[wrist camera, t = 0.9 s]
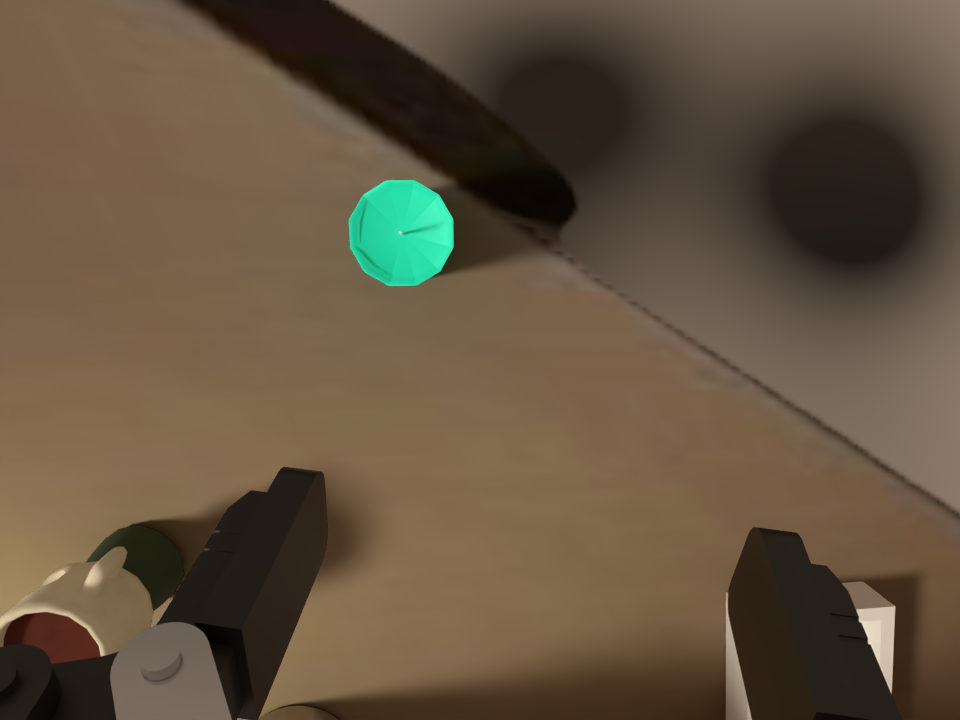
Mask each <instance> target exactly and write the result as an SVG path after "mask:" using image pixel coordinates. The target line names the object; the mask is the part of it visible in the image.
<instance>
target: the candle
mask: <svg viewBox="0 0 960 720" xmlns="http://www.w3.org/2000/svg"><path fill="white" fill-rule="evenodd" d="M349 232H350V248H351V250H352V252H353V253H354V255H355V257H356V259H357V260H358V262H359V264H360V265H361V267H362V269H363V271H364V272H365V273H367V274H369V275H370V276H372V277H374V278H376V279H378V280H379V281H381V282H383V283H385V284H387V285H388V286H417V285H418V284H420V283H422V282H423V281H425V280H427V279H428V278H430V277H432V276H433V275H435V274H437V273H439V272H440V271H441V269H442V267H443V266H444V264H445V262H446V260H447V258H448V257H449V255H450V253H451V251H452V249H453V248H454V233H453V218H452V216H451V214H450V212H449V211H448V209H447V207H446V206H445V204H444V202H443V200H442V199H441V197H440V195H439V194H437V193H435V192H434V191H432V190H430V189H429V188H427V187H425V186H424V185H422V184H420V183H418V182H417V181H415V180H386V181H384V182H383V183H381V184H380V185H378V186H377V187H375V188H373V189H372V190H370V191H369V192H367V193H366V194H364V195H363V196H362V198H361V199H360V201H359V203H358V205H357V206H356V208H355V210H354V212H353V213H352V215H351V217H350V218H349Z"/></svg>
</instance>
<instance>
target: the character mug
mask: <svg viewBox="0 0 960 720" xmlns="http://www.w3.org/2000/svg"><path fill="white" fill-rule="evenodd" d="M182 577H183V564H182V557H181V556H180V554H179V552H178V551H177V549H176V547H175V546H174V544H173V543H172V542H171V541H170V540H168V539H167V538H166V537H164V536H163V535H162V534H160V533H159V532H158V531H156V530H153V529H149V528H146V527H143V526H140V525H136V526H131V527H126V528H121V529H118V530H117V531H116V532H114V533H113V534H111V535H110V536H109V537H107V538H106V539H105V540H104V541H103V542H102V543H101V544H100V545H99V546H98V547H97V549H96V550H95V551H94V552H93V553H92V555H91V556H90V557H89V559H88V560H87V561H86V563H75V564H69V565H67V566H65V567H63V568H61V569H60V570H58V571H56V572H55V573H53V574H51V575H50V576H49V577H48V578H47V579H46V580H45V581H44V583H43V584H42V585H41V586H40V587H39V588H38V589H37V590H35V591H33V592H32V593H30V594H28V595H27V596H25V597H23V598H22V599H21V600H20V601H19V602H18V603H17V604H16V605H15V606H14V607H13V608H12V609H10V610H9V611H8V612H7V613H6V614H5V615H3V616H2V617H1V618H0V647H4V646H8V645H15V644H27V645H33V646H36V647H38V648H40V649H42V650H43V651H45V653H46V654H47V655H48V656H49V658H50V661H51V663H52V664H55V663H61V662H68V661H75V660H81V659H88V658H95V657H100V656H105V655H109V654H112V653H115V652H118V651H120V650H121V649H122V647H123V646H124V645H125V644H126V643H127V642H128V641H129V640H131V639H132V638H133V637H135V636H136V635H137V634H139V633H141V632H142V631H144V630H146V629H148V628H150V627H151V622H152V617H153V613H154V612H153V611H154V610H156V609H157V608H158V607H159V606H160V605H162V604H163V603H164V602H165V601H166V600H167V599H168V598H169V597H170V596H171V595H172V594H173V593H175V591H176V589H177V587H178V585H179V583H180V581H181V579H182Z"/></svg>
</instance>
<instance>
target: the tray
mask: <svg viewBox="0 0 960 720" xmlns="http://www.w3.org/2000/svg"><path fill="white" fill-rule="evenodd" d="M842 584H843V585H844V587H845V588H846V589H847V590H848V592H849V594H850V596H851V599H852V601H853V604H854V606H855V608H856V611H857V613H858V616H859V622H861V623H862V625H863V628H864V630H865V632H866V635H867V637H868V644H871V647H872V649H873V651H874V654H875V656H876V659H877V661H878V663H879V666H880V668H881V671H882V673H883V675H884V678H885V680H886V682H887V685H888V687H889V690H890V692H891V694H892V675H893V650H894V625H895V606H894V605H893V604H892V603H890V602H889V601H888V600H886V599H885V598H884V597H882V596H881V595H880V594H879V593H877V592H876V591H875V590H873V589H872V588H871V587H870V586H868V585H867V584H866V583H864V582H863V581H859V582H846V583H842ZM728 592H729V591H727V592H726V720H752V718H751V713H750V709H749V705H748V700H747V696H746V691H745V687H744V682H743V678H742V674H741V669H740V665H739V660H738V656H737V651H736V647H735V643H734V638H733V634H732V629H731V625H730V621H729V615H728Z"/></svg>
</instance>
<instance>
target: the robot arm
mask: <svg viewBox="0 0 960 720" xmlns="http://www.w3.org/2000/svg"><path fill="white" fill-rule="evenodd" d="M327 537H328V523H327V508H326V493H325V479H324V475H323V473H322V472H320V471H312V470H304V469H297V468H289V467H283V468H281V469H280V471H279V472H278V474H277V476H276V477H275V479H274V481H273V483H272V485H271V486H270V488H269V490H268V492H259V491H252V490H251V491H249V492H248V493H247V494H246V495H244V496H243V497H242V498H240V499H239V500H238V501H237V502H235V503H234V504H233V505H232V506H230V507H229V508H228V510H227V511H226V513H225V514H224V516H223V518H222V519H221V521H220V523H219V524H218V526H217V528H216V529H215V533H214V534H212V536H211V537H210V539H209V541H208V542H207V544H206V546H205V547H204V552H203V553H202V552H201V554H200V555H199V557H198V559H197V560H196V562H195V564H194V565H193V567H192V568H191V570H190V572H189V573H188V575H187V577H186V578H185V580H184V582H183V583H182V585H181V586H180V588H179V590H178V591H177V593H176V595H175V596H174V598H173V600H172V601H171V603H170V604H169V606H168V608H167V609H166V611H165V613H164V614H163V616H162V618H161V619H160V620H159V622H158V623H157V625H156V626H153V627H151V628H148V629H146V630H144V631H142V632H141V633H139V634H137V635H136V636H135V637H133V638H132V639H131V640H129V641H128V642H127V643H126V644H125V645H124V646H123V647H122V649H121V650H120V651H118V652H115V653H112V654H109V655H105V656H100V657H95V658H88V659H81V660H75V661H68V662H61V663H55V664H52V663H51V661H50V658H49V656H48V655H47V654H46V653H45V651H43V650H42V649H40V648H38V647H36V646H33V645H27V644H15V645H8V646H4V647H0V720H237V718H242V719H248V720H258V718H259V716H260V713H261V711H262V708H263V706H264V704H265V701H266V699H267V696H268V694H269V691H270V689H271V686H272V684H273V681H274V679H275V677H276V674H277V672H278V669H279V667H280V664H281V662H282V659H283V657H284V654H285V652H286V650H287V647H288V645H289V642H290V640H291V637H292V635H293V632H294V630H295V627H296V625H297V623H298V620H299V618H300V615H301V613H302V610H303V608H304V605H305V603H306V600H307V598H308V596H309V593H310V591H311V588H312V586H313V583H314V581H315V578H316V576H317V573H318V571H319V568H320V566H321V564H322V561H323V558H324V554H325V550H326V545H327ZM728 615H729V621H730V625H731V629H732V634H733V638H734V643H735V647H736V651H737V656H738V660H739V665H740V669H741V674H742V678H743V682H744V687H745V691H746V696H747V700H748V705H749V709H750V713H751V718H752V720H902V718H901V716H900V714H899V711H898V709H897V706H896V704H895V702H894V699H893V697H892V694H891V692H890V690H889V687H888V685H887V682H886V680H885V678H884V675H883V673H882V671H881V668H880V666H879V663H878V661H877V659H876V656H875V654H874V651H873V649H872V647H871V644H868V637H867V635H866V632H865V630H864V628H863V625H862V623H861V622H859V616H858V613H857V611H856V608H855V606H854V604H853V601H852V599H851V596H850V594H849V592H848V590H847V589H846V588H845V587H844V585H843V584H842V583H841V582H840V581H839V580H838V579H837V577H836V576H835V575H834V574H833V573H832V572H831V571H830V569H829V568H828V567H827V566H823V565H816V564H811V563H810V560H809V557H808V555H807V552H806V549H805V547H804V544H803V541H802V539H801V537H800V536H799V535H798V534H797V533H795V532H788V531H780V530H773V529H765V528H757V527H754V528H752V529H751V531H750V532H749V534H748V537H747V539H746V542H745V545H744V548H743V550H742V553H741V556H740V558H739V561H738V564H737V566H736V569H735V572H734V574H733V577H732V580H731V583H730V587H729V592H728ZM259 720H338V719H337V718H336V717H334V716H332V715H331V714H329V713H328V712H325V711H323V710H320V709H317V708H314V707H307V706H288V707H284V708H280V709H276V710H274V711H272V712H270V713H268V714H266V715H264V716H263V717H261V718H260V719H259Z"/></svg>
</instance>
